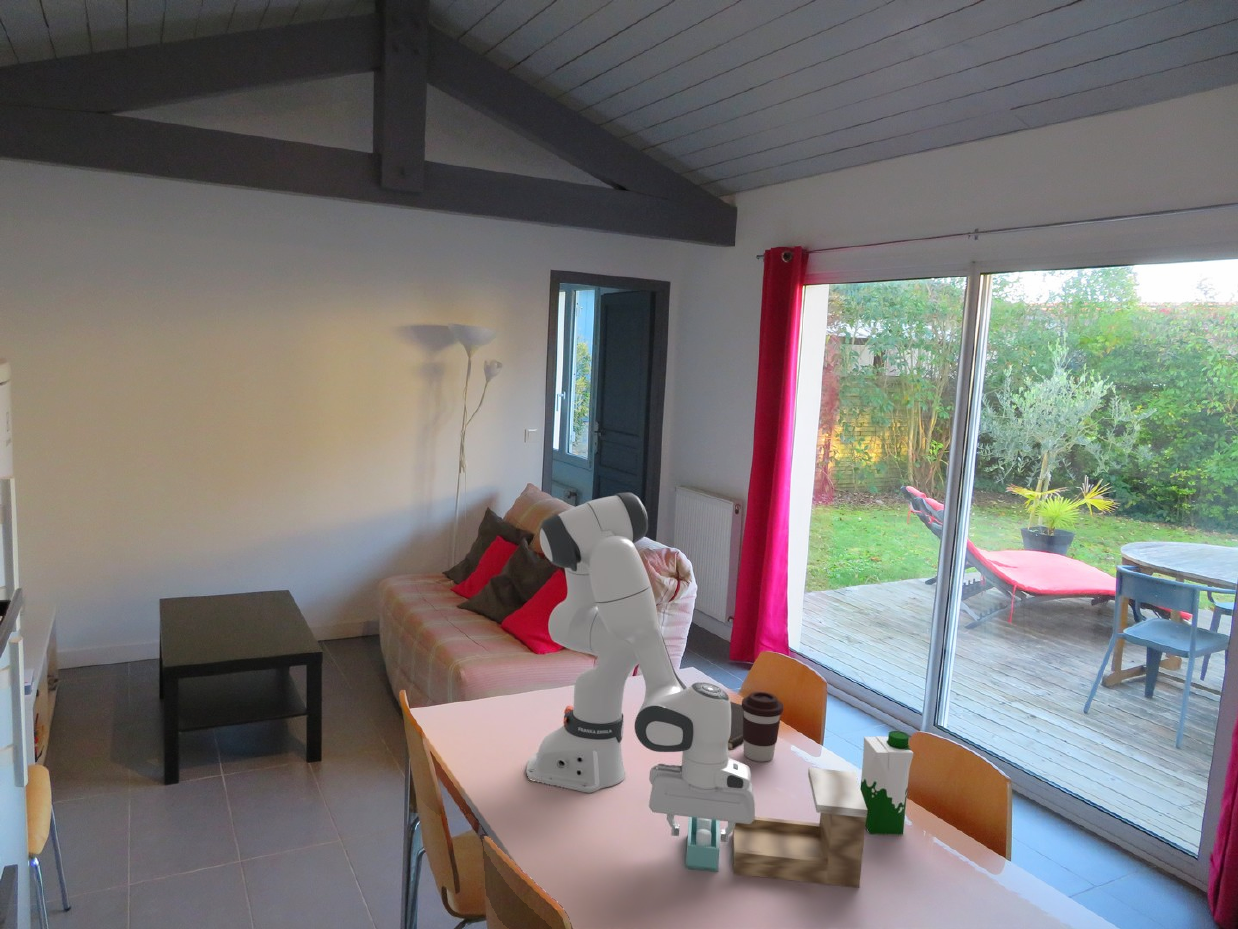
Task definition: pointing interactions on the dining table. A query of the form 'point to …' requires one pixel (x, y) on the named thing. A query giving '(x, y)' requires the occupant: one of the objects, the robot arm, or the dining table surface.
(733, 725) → the hardcover book
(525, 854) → the dining table surface
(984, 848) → the dining table surface
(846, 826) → the counter
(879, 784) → the milk carton
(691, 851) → the tray
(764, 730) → the coffee cup
